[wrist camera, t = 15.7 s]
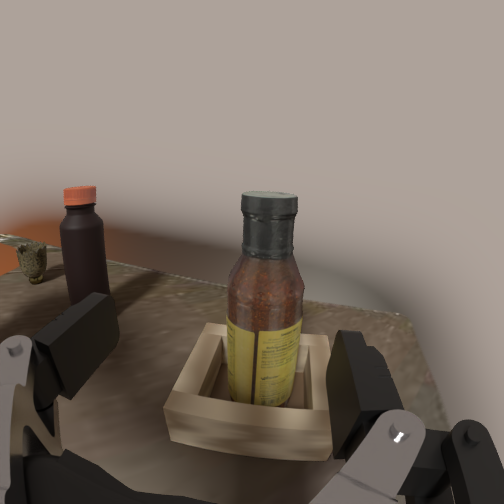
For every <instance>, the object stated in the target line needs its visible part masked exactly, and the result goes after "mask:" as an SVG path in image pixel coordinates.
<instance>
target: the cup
mask: <svg viewBox="0 0 504 504" xmlns="http://www.w3.org/2000/svg"><path fill="white" fill-rule="evenodd" d="M17 249H18V251H17V250H16V253H17V257H18V260H19V264H20V267H21V270H22V272H23V273H24V275H25V276H27V277H29V281H30V283H32V284H38V283H40V282H42V281H43V275H42V274H43V273H44V272H45V270H46V266H47V255H46V244H45V242H43V243H42V244H41V242H39V245H38V243H37V242H35V243H33V242H32V243H31V245H30V247H29V245H28V244H26V246H24V245H21V246H20V248H19V247H18V248H17Z"/></svg>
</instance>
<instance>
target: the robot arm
mask: <svg viewBox="0 0 504 504" xmlns="http://www.w3.org/2000/svg"><path fill="white" fill-rule="evenodd" d="M118 340H119V327H118V321H117V315H116V309H115V302H114V299H113V298H112V296H109V295H105V294H100V293H96V292H93V293H91V294H90V295H89V296H87V297H86V298H85V299H83V300H82V301H81V302H79V303H77V304H75V305H73V306H70V307H69V308H68V309H66V310H65V311H64V312H62V314H61V315H59V316H57V317H56V318H55V320H52V321H51V322H50V323H48V324H47V325H46V326H45V327H43V328H42V329H41V330H40V331H39V332H37V333H36V334H35V335H34V336H32V337H31V338H28V337H26V336H23V335H16V336H12V337H9V338H7V339H5V340H4V341H3V342H2V343H1V344H0V504H216V503H211V502H206V501H201V500H197V499H193V498H189V497H185V496H173V495H161V494H152V493H144V492H137V491H134V490H132V489H130V488H128V487H127V486H125V485H124V484H123V483H121V482H120V481H118V480H117V479H115V478H114V477H113V476H111V475H110V474H109V473H107V472H106V471H105V470H103V469H102V468H101V467H99V466H98V465H96V464H94V463H92V462H90V461H88V460H86V459H84V458H82V457H80V456H78V455H76V454H74V453H73V452H71V451H69V450H67V449H65V450H64V451H63V449H62V445H61V439H60V427H59V410H58V402H57V400H56V397H57V396H58V395H61V396H63V397H65V398H67V399H69V400H72V398H73V397H74V396H75V395H76V393H77V392H78V391H79V390H80V388H81V387H82V386H83V385H84V384H85V382H86V381H87V380H88V379H89V378H90V376H91V375H92V374H93V373H94V372H95V370H96V369H97V368H98V367H99V366H100V364H101V363H102V362H103V361H104V360H105V358H106V357H107V356H108V355H109V354H110V353H111V351H112V350H113V349H114V348H115V347H116V345H117V343H118ZM387 367H388V366H387V364H386V362H385V359H384V357H383V355H382V354H381V353H380V352H379V351H378V350H377V349H376V348H375V347H374V346H367V345H366V343H365V340H364V338H363V335H362V333H361V332H360V331H348V330H339V331H338V332H337V334H336V337H335V341H334V345H333V348H332V352H331V355H330V359H329V362H328V365H327V370H326V389H327V397H328V406H329V415H330V425H331V435H332V445H333V457H334V459H345V460H346V464H345V465H344V466H343V468H342V469H341V470H340V471H339V472H337V473H336V475H335V476H334V477H333V478H332V479H331V480H330V481H329V482H328V484H327V485H326V486H325V487H324V488H323V489H322V490H321V491H320V492H319V493H318V494H317V496H316V497H315V498H314V499H313V500H312V501H311V502H310V503H309V504H397V503H398V501H397V500H395V497H396V495H405V499H406V504H454V500H455V504H504V469H503V466H502V463H501V461H500V458H499V455H498V453H497V450H496V448H495V446H494V443H493V441H492V439H491V436H490V434H489V432H488V430H487V429H486V428H485V427H484V426H483V425H482V424H481V423H479V422H477V421H474V420H462V421H460V422H458V423H457V424H456V425H455V426H454V428H453V429H452V430H451V431H450V432H446V431H438V430H430V429H425V426H424V424H423V422H422V421H421V420H420V419H419V418H418V417H417V416H416V415H414V414H413V413H411V412H408V411H405V410H404V408H403V405H402V402H401V400H400V397H399V394H398V392H397V389H396V386H395V384H394V381H393V379H392V378H391V374H390V371H389V369H387ZM451 486H452V491H453V495H454V500H453V496H452V491H451Z"/></svg>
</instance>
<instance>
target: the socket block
mask: <svg viewBox="0 0 504 504" xmlns="http://www.w3.org/2000/svg"><path fill="white" fill-rule="evenodd" d="M330 355H331V353H330V348H329V342H328V337H327V336H326V335H312V334H300V341H299V348H298V355H297V362H296V370H295V376H294V383H293V389H292V393H291V395H290V400H289V402H288V404H287V406H286V407H285V408H280V407H269V406H260V405H252V404H245V403H238V402H232V400H231V396H230V393H229V390H228V357H227V325H221V324H214V323H208V322H207V324H206V326H205V328H204V330H203V332H202V334H201V335H200V337H199V339H198V341H197V343H196V345H195V347H194V349H193V351H192V353H191V355H190V356H189V358H188V360H187V362H186V364H185V366H184V368H183V370H182V372H181V374H180V376H179V378H178V379H177V381H176V383H175V385H174V387H173V389H172V391H171V393H170V395H169V397H168V399H167V401H166V403H165V405H164V406H163V410H164V415H165V419H166V423H167V427H168V431H169V435H170V439H171V441H174V442H178V443H182V444H186V445H190V446H195V447H199V448H204V449H208V450H214V451H219V452H224V453H230V454H237V455H244V456H251V457H260V458H270V459H282V460H300V461H327V459H328V458H329V456H330V454H331V452H332V450H333V445H332V435H331V425H330V415H329V406H328V397H327V389H326V370H327V365H328V362H329V359H330Z"/></svg>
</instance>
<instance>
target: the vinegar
mask: <svg viewBox="0 0 504 504" xmlns="http://www.w3.org/2000/svg"><path fill="white" fill-rule="evenodd" d="M94 202H96V187H95V186H80V187H72V188H66V189H64V205H66V206H65V208H66V209H67V215H66V216H65V218H64V219H63V221H62V222H61V224H60V237H61V246H62V254H63V262H64V269H65V275H66V281H67V286H68V292H69V297H70V301H71V306H73V305H75V304H77V303H79V302H81V301H82V300H83V299H85V298H86V297H87V296H89V295H90V294H91V293H93V292H96V293H100V294H105V295H109V296H110V289H109V281H108V273H107V264H106V254H105V243H104V228H103V221H102V219H101V218H100V217H99V216H98V215H97V214H96V213H95V212H94V206H95V205H96V203H94Z"/></svg>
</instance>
